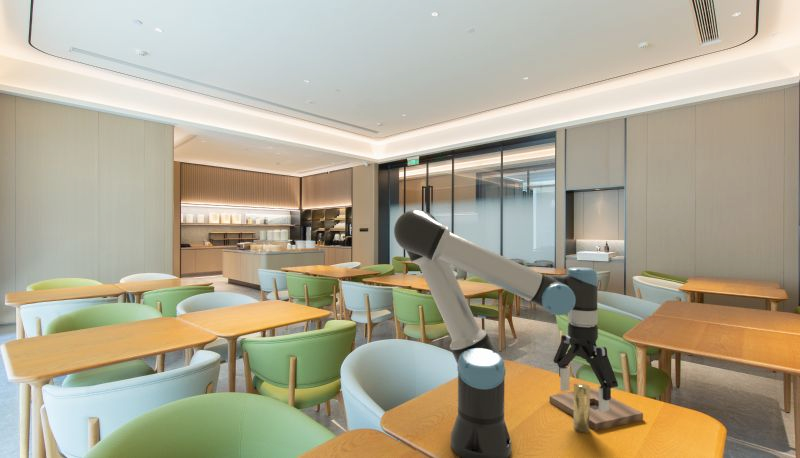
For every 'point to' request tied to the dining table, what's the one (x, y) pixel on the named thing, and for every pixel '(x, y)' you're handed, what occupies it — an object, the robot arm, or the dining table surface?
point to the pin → (581, 407)
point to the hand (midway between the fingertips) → (583, 400)
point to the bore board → (598, 420)
